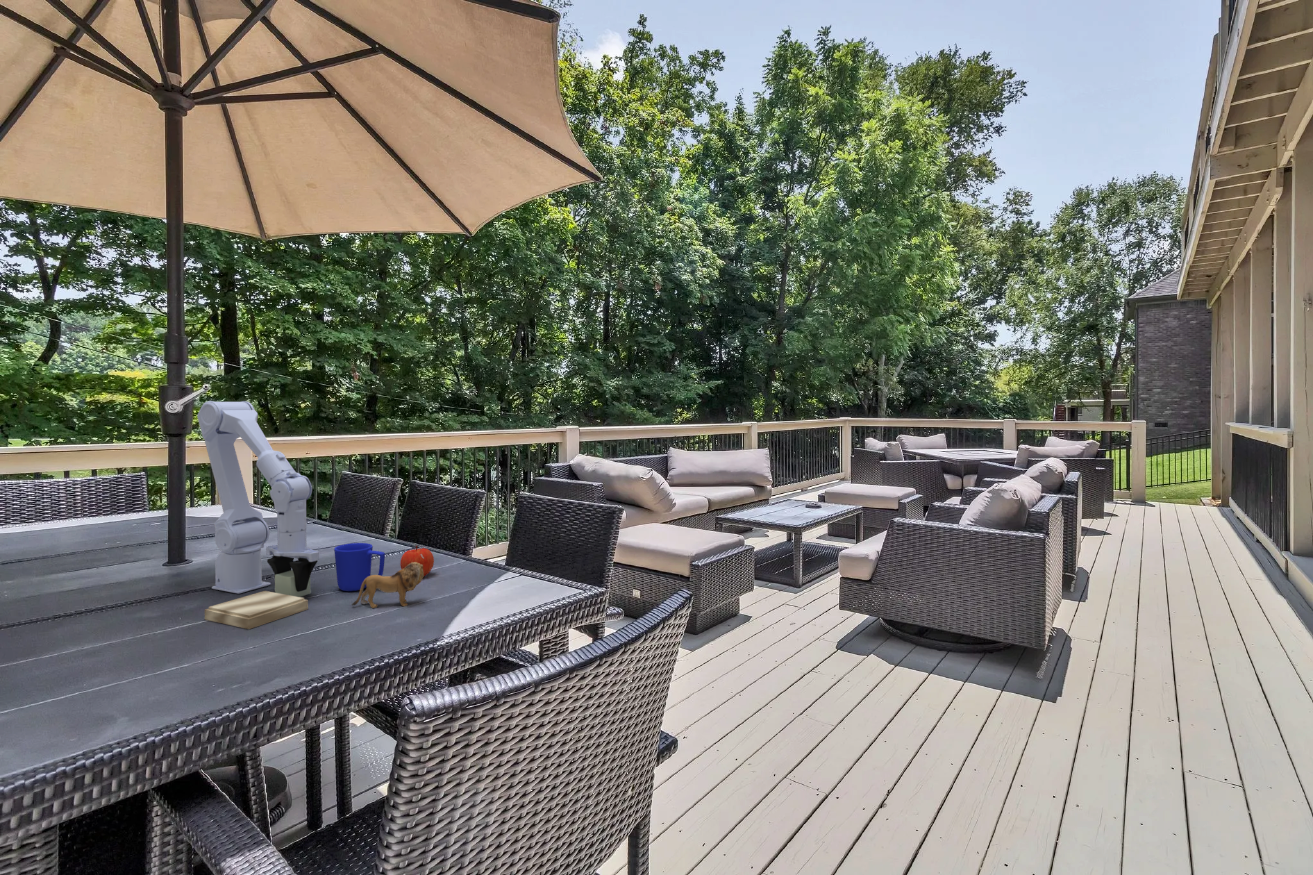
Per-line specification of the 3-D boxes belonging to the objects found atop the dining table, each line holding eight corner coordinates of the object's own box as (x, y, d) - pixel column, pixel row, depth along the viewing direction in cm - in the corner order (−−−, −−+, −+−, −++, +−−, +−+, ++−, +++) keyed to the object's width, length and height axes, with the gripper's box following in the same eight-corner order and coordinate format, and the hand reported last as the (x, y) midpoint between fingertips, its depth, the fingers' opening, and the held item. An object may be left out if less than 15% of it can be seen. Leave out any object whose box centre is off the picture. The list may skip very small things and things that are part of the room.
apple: (438, 577, 161) (438, 546, 160) (406, 582, 156) (406, 550, 155) (427, 570, 167) (427, 540, 166) (395, 575, 162) (395, 544, 161)
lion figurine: (423, 597, 144) (423, 559, 144) (424, 605, 139) (423, 564, 139) (352, 604, 139) (351, 563, 138) (350, 611, 134) (349, 570, 133)
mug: (372, 596, 145) (372, 553, 144) (326, 591, 147) (326, 549, 146) (394, 585, 153) (394, 545, 152) (350, 582, 155) (350, 541, 154)
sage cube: (275, 596, 143) (274, 574, 142) (295, 590, 147) (294, 569, 147) (290, 599, 141) (290, 577, 141) (310, 593, 146) (310, 572, 145)
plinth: (204, 619, 128) (204, 607, 127) (265, 600, 140) (265, 589, 140) (248, 629, 123) (248, 616, 123) (308, 609, 135) (307, 597, 135)
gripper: (252, 530, 142) (254, 589, 143) (299, 536, 137) (299, 598, 138) (281, 524, 149) (282, 581, 150) (326, 530, 143) (327, 589, 144)
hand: (292, 588), depth 144 cm, fingers closed on sage cube, 5 cm apart
